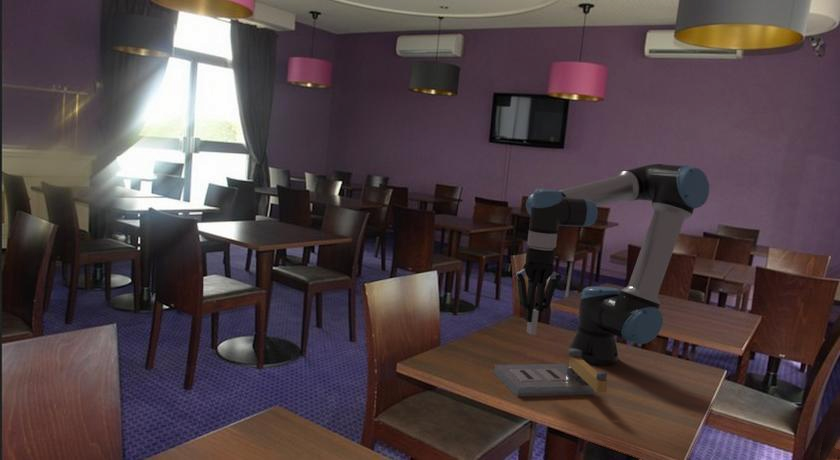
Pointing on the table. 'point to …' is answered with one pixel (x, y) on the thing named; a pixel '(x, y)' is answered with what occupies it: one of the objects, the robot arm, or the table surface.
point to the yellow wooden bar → (587, 371)
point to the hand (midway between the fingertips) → (531, 333)
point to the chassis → (542, 380)
